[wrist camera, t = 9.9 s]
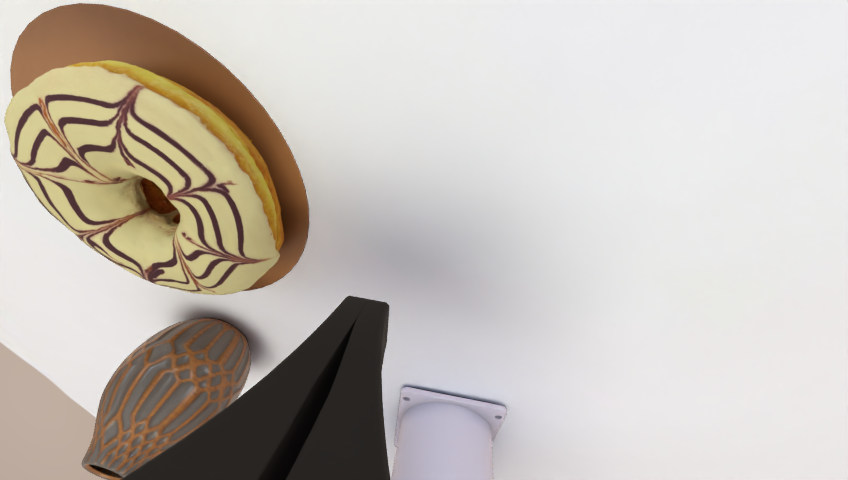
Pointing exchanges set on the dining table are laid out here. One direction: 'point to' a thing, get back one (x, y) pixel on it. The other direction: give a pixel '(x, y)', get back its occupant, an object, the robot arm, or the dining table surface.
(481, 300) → the dining table surface
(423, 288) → the dining table surface
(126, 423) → the vase
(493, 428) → the robot arm
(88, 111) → the decorated donut
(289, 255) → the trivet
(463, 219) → the dining table surface
